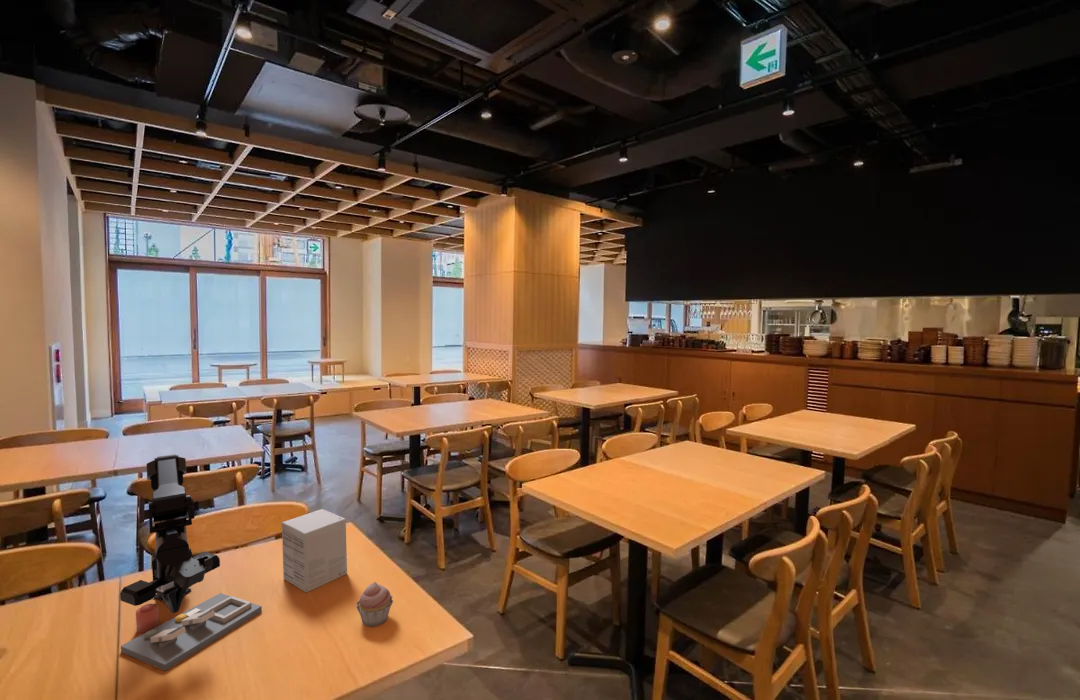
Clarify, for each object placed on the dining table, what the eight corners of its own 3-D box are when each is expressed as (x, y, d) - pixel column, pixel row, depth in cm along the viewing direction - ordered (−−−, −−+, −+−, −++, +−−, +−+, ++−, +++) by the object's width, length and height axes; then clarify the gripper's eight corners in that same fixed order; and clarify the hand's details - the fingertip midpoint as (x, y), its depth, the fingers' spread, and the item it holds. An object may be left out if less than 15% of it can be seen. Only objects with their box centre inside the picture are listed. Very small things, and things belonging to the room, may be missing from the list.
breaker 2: (181, 626, 124) (179, 621, 124) (196, 617, 127) (195, 612, 128) (200, 623, 121) (199, 617, 121) (216, 614, 124) (214, 609, 124)
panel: (121, 652, 117) (120, 641, 117) (220, 598, 139) (220, 588, 139) (165, 671, 111) (164, 659, 111) (261, 611, 133) (261, 601, 133)
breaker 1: (150, 643, 117) (148, 637, 118) (167, 634, 121) (165, 628, 121) (170, 640, 114) (168, 634, 114) (187, 630, 118) (185, 625, 118)
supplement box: (323, 561, 160) (322, 507, 159) (348, 573, 152) (346, 518, 151) (282, 578, 149) (280, 521, 148) (306, 593, 142) (304, 533, 140)
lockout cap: (132, 631, 124) (131, 609, 124) (152, 621, 129) (150, 600, 128) (143, 635, 123) (142, 613, 122) (163, 625, 127) (162, 604, 126)
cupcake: (401, 614, 132) (401, 577, 131) (376, 634, 124) (375, 596, 123) (374, 605, 136) (373, 570, 135) (348, 624, 128) (347, 587, 127)
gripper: (149, 573, 103) (153, 645, 105) (234, 536, 121) (236, 598, 122) (116, 563, 108) (120, 632, 109) (203, 528, 125) (206, 588, 126)
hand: (175, 612), depth 116 cm, fingers closed
